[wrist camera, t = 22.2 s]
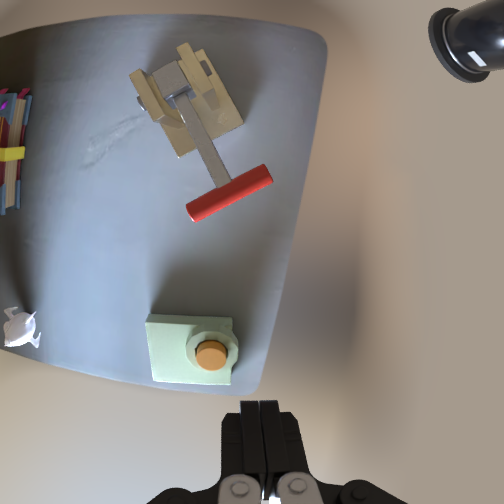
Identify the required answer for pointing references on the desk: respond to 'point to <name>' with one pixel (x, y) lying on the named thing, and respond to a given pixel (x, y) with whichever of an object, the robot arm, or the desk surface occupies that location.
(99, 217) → the desk surface
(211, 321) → the button block
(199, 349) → the button
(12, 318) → the rocket toy
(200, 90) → the bracket
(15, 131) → the decorative book
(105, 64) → the desk surface
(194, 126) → the lever
